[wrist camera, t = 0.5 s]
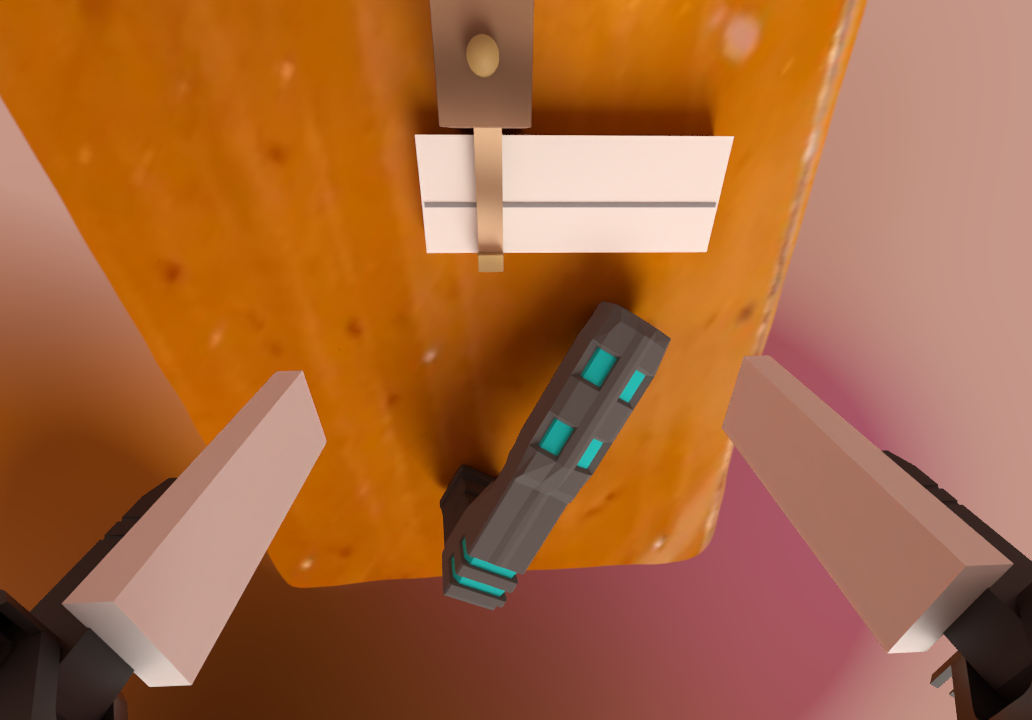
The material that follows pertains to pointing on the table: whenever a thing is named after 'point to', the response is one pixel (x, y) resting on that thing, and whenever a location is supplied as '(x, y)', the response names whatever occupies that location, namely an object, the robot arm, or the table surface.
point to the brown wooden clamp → (484, 93)
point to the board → (577, 192)
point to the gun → (547, 457)
